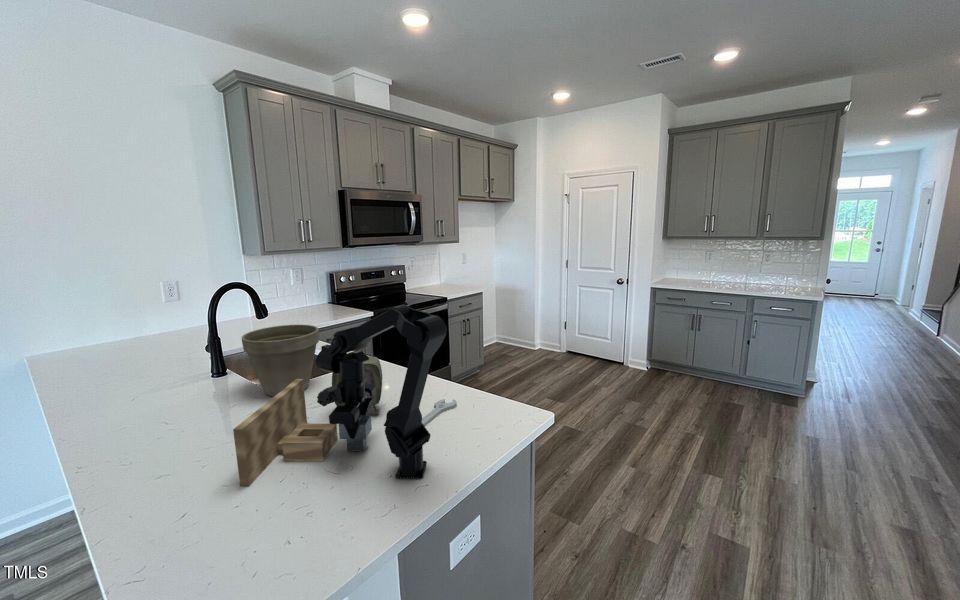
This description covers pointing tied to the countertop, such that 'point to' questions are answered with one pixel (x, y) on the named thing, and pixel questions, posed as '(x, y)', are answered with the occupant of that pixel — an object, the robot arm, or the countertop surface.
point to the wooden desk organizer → (280, 434)
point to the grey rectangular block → (357, 434)
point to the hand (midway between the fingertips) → (356, 432)
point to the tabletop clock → (373, 377)
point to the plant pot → (281, 355)
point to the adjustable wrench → (438, 410)
